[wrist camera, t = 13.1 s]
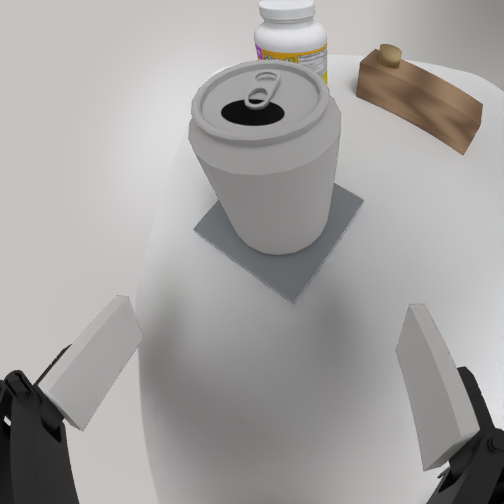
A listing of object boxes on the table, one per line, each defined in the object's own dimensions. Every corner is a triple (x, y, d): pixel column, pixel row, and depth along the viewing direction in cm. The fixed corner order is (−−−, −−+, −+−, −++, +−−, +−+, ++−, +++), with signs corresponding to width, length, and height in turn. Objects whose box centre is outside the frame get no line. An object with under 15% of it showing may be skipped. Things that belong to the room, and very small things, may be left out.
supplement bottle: (256, 100, 28) (233, 3, 16) (303, 82, 28) (295, -10, 16) (287, 132, 26) (272, 16, 14) (338, 111, 26) (342, 5, 14)
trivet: (362, 205, 21) (363, 200, 21) (293, 304, 20) (293, 302, 19) (267, 153, 25) (266, 148, 24) (196, 233, 23) (193, 229, 22)
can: (218, 242, 21) (145, 138, 10) (253, 167, 24) (219, 49, 12) (312, 271, 19) (325, 167, 8) (337, 187, 21) (353, 61, 10)
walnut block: (468, 132, 22) (488, 91, 16) (463, 155, 22) (487, 111, 15) (371, 80, 27) (376, 35, 21) (356, 96, 26) (361, 47, 20)
